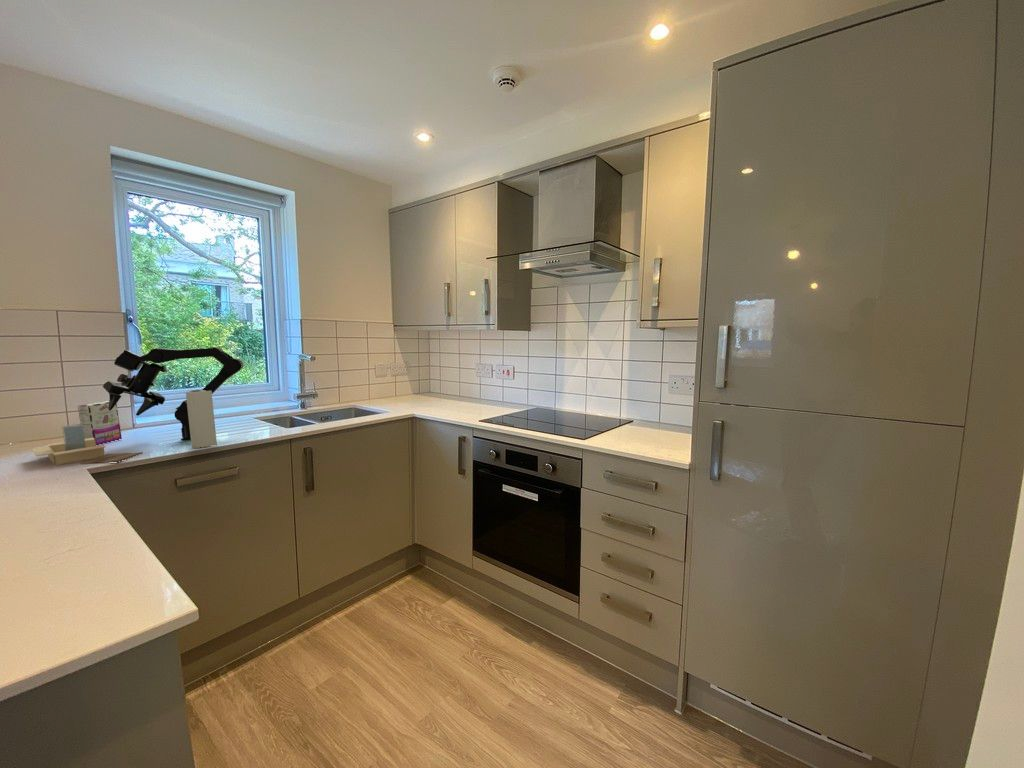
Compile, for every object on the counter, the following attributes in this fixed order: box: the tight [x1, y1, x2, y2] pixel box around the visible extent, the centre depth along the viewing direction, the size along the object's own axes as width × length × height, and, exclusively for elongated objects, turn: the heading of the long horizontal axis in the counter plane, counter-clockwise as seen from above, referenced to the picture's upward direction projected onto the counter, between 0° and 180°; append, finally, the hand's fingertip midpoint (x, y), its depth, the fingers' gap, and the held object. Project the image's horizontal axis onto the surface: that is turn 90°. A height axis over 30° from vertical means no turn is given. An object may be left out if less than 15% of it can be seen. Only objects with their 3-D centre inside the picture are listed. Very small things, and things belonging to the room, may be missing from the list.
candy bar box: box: [77, 400, 123, 446], centre depth 166 cm, size 11×5×16 cm, turn 179°
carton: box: [31, 438, 106, 466], centre depth 147 cm, size 22×23×4 cm
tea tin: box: [61, 423, 86, 451], centre depth 145 cm, size 5×5×11 cm
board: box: [80, 451, 143, 465], centre depth 143 cm, size 11×11×1 cm
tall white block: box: [185, 389, 218, 449], centre depth 157 cm, size 7×6×21 cm
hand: (123, 412), depth 162 cm, fingers open, 9 cm apart
